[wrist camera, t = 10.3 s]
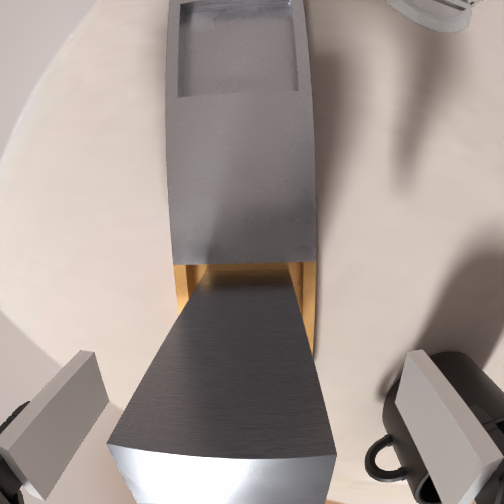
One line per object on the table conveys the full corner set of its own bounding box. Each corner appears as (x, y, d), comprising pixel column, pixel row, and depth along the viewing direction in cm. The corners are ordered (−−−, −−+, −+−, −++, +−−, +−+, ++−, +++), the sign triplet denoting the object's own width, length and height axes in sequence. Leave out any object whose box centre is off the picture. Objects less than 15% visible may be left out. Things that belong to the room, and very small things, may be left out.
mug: (342, 389, 22) (371, 480, 13) (474, 331, 20) (539, 388, 12) (360, 457, 24) (381, 531, 15) (470, 407, 22) (513, 465, 13)
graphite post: (288, 269, 19) (336, 454, 5) (288, 342, 20) (313, 541, 6) (205, 271, 19) (106, 443, 6) (212, 343, 20) (157, 533, 7)
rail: (295, -18, 15) (298, -33, 13) (306, 378, 21) (309, 395, 19) (178, -10, 15) (171, -24, 14) (196, 379, 22) (191, 395, 20)
